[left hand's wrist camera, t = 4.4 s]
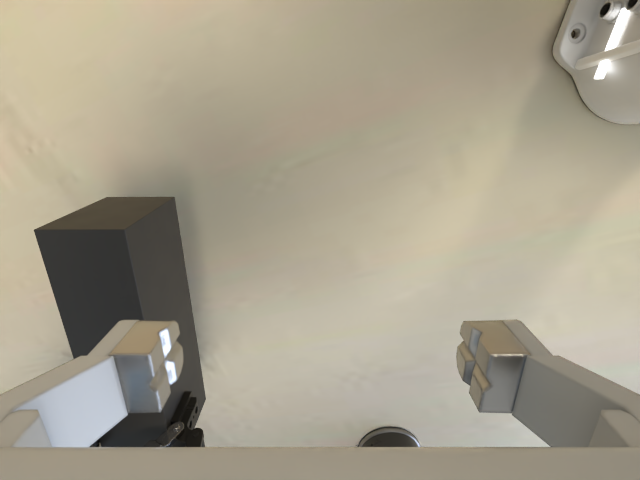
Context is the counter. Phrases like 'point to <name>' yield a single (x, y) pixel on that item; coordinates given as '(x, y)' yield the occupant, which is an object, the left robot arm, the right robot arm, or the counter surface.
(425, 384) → the counter surface
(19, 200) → the counter surface
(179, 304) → the box
